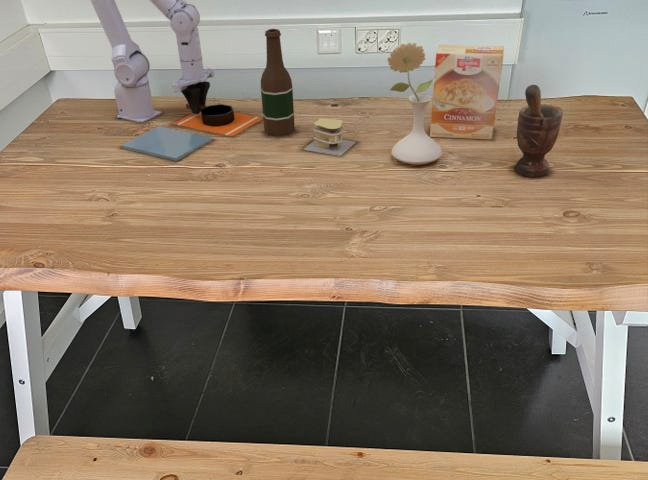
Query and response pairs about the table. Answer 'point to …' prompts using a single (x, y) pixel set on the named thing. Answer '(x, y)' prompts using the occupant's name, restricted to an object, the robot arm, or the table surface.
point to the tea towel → (231, 129)
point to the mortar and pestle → (536, 133)
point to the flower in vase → (416, 143)
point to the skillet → (216, 114)
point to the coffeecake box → (465, 91)
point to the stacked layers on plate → (329, 138)
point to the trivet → (166, 143)
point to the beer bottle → (276, 90)
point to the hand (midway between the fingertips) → (198, 112)
